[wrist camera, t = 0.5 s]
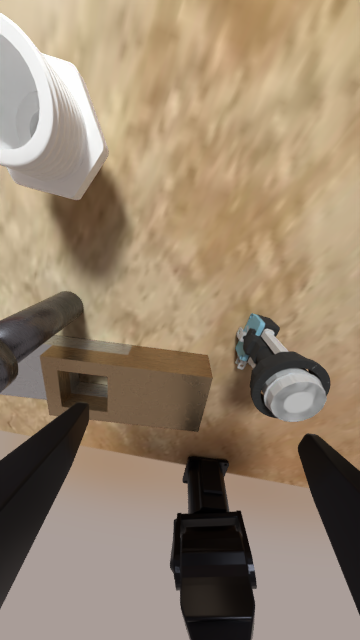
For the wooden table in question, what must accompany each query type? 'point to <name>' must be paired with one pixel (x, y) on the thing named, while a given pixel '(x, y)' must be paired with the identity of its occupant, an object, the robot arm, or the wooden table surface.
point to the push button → (280, 373)
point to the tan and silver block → (117, 382)
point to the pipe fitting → (46, 119)
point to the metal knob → (33, 330)
